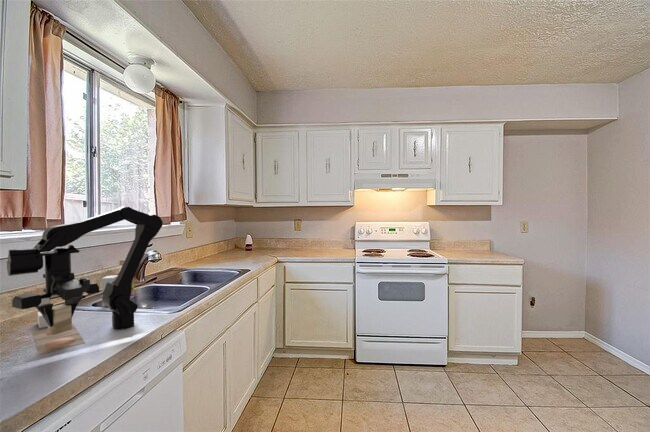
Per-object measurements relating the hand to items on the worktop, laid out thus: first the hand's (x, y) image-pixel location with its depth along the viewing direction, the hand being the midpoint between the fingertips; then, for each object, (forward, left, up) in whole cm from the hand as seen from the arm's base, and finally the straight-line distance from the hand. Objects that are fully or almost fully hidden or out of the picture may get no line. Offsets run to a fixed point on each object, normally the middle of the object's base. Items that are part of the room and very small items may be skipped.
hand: (60, 324), depth 92 cm
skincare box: (+26, -30, -7) cm, 40 cm away
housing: (+21, -7, -6) cm, 23 cm away
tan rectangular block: (0, 0, -2) cm, 2 cm away
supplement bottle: (+32, -40, -7) cm, 52 cm away
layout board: (+5, -2, -6) cm, 8 cm away
